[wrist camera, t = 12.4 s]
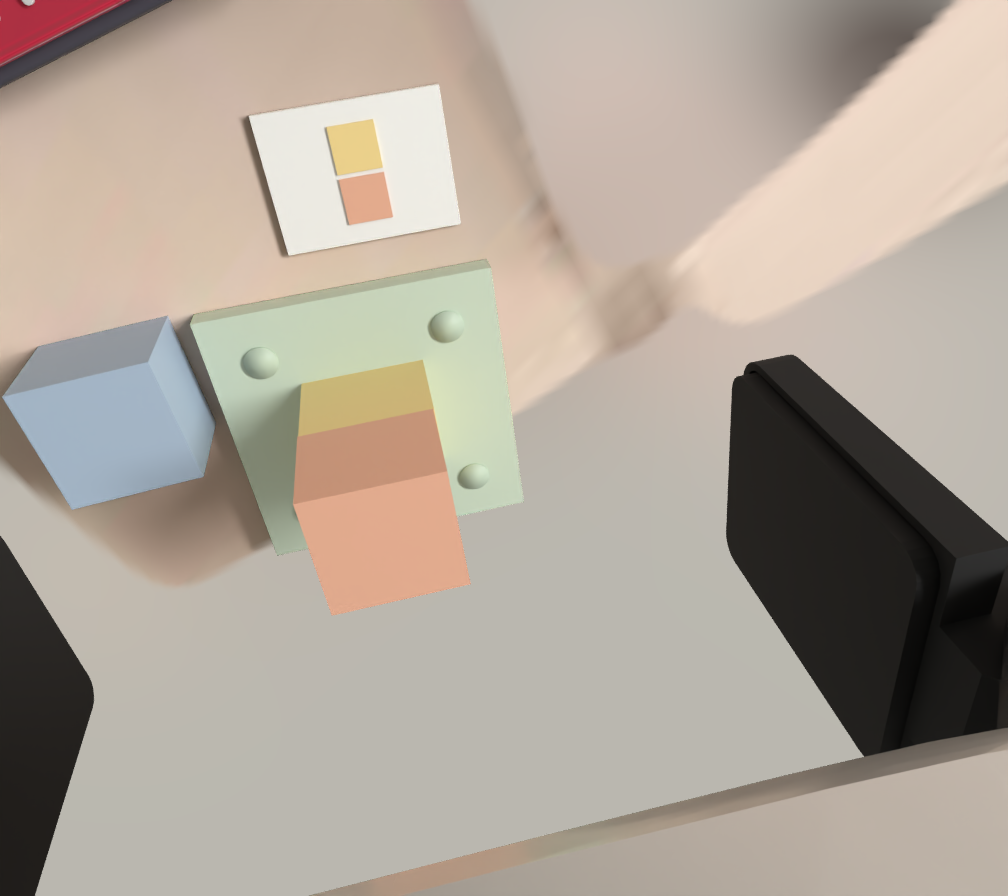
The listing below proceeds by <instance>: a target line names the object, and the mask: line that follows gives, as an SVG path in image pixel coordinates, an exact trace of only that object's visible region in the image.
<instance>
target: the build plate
mask: <svg viewBox="0 0 1008 896" xmlns="http://www.w3.org/2000/svg"><path fill="white" fill-rule="evenodd" d="M190 326H191V329H192V331H193V334H194V337H195V339H196V342H197V345H198V347H199V350H200V353H201V355H202V358H203V361H204V363H205V366H206V368H207V371H208V374H209V376H210V379H211V382H212V384H213V387H214V390H215V392H216V395H217V398H218V400H219V403H220V406H221V408H222V411H223V413H224V416H225V419H226V421H227V424H228V427H229V429H230V432H231V435H232V437H233V440H234V443H235V445H236V448H237V451H238V453H239V456H240V458H241V461H242V464H243V466H244V469H245V472H246V474H247V477H248V480H249V482H250V485H251V488H252V490H253V493H254V495H255V498H256V501H257V503H258V506H259V509H260V511H261V514H262V517H263V519H264V522H265V525H266V527H267V530H268V533H269V535H270V538H271V540H272V543H273V546H274V548H275V551H276V554H277V555H282V554H287V553H291V552H296V551H301V550H305V549H308V546H307V543H306V540H305V537H304V534H303V531H302V529H301V526H300V523H299V520H298V517H297V514H296V511H295V509H294V506H293V497H294V481H295V465H296V449H297V437H298V432H299V415H300V398H301V384H303V383H308V382H313V381H318V380H323V379H328V378H333V377H338V376H343V375H348V374H353V373H358V372H363V371H368V370H373V369H378V368H383V367H388V366H393V365H398V364H403V363H408V362H413V361H418V360H423V363H424V367H425V372H426V376H427V380H428V385H429V389H430V393H431V398H432V402H433V406H434V411H435V416H436V421H437V426H438V431H439V436H440V441H441V445H442V450H443V455H444V459H445V463H446V468H447V472H448V477H449V482H450V487H451V492H452V496H453V501H454V506H455V511H456V516H462V515H466V514H471V513H475V512H480V511H484V510H489V509H494V508H499V507H503V506H508V505H512V504H517V503H522V502H524V499H523V492H522V485H521V479H520V471H519V464H518V456H517V449H516V442H515V435H514V428H513V421H512V414H511V407H510V399H509V392H508V385H507V378H506V371H505V364H504V357H503V350H502V342H501V335H500V328H499V321H498V314H497V307H496V300H495V293H494V286H493V278H492V271H491V267H490V265H489V263H488V261H487V259H484V260H479V261H474V262H468V263H463V264H458V265H452V266H447V267H442V268H437V269H431V270H426V271H421V272H415V273H410V274H405V275H400V276H394V277H389V278H384V279H378V280H373V281H368V282H363V283H357V284H352V285H347V286H341V287H336V288H331V289H325V290H320V291H315V292H310V293H304V294H299V295H294V296H288V297H283V298H278V299H273V300H267V301H262V302H257V303H251V304H246V305H241V306H236V307H230V308H225V309H220V310H214V311H209V312H204V313H198V314H194V315H193V318H192V320H191V323H190Z"/></svg>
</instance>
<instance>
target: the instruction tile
mask: <svg viewBox="0 0 1008 896" xmlns="http://www.w3.org/2000/svg"><path fill="white" fill-rule="evenodd" d="M249 119H250V123H251V126H252V130H253V133H254V137H255V140H256V144H257V147H258V151H259V154H260V158H261V161H262V165H263V168H264V172H265V175H266V179H267V182H268V186H269V189H270V193H271V196H272V200H273V203H274V207H275V210H276V214H277V217H278V220H279V224H280V227H281V231H282V234H283V238H284V241H285V245H286V248H287V252H288V255H289V256H290V255H295V254H300V253H306V252H311V251H317V250H322V249H327V248H333V247H338V246H344V245H349V244H355V243H360V242H365V241H371V240H376V239H382V238H387V237H393V236H398V235H403V234H409V233H414V232H420V231H425V230H430V229H436V228H441V227H447V226H452V225H458V224H461V222H460V215H459V209H458V203H457V196H456V190H455V184H454V177H453V171H452V165H451V158H450V152H449V146H448V139H447V133H446V127H445V120H444V114H443V108H442V101H441V95H440V89H439V84H438V83H437V84H431V85H425V86H419V87H413V88H407V89H401V90H395V91H389V92H383V93H378V94H372V95H366V96H360V97H354V98H348V99H342V100H336V101H330V102H324V103H318V104H312V105H306V106H300V107H294V108H288V109H282V110H276V111H271V112H265V113H259V114H253V115H249Z"/></svg>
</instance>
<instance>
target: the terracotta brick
mask: <svg viewBox="0 0 1008 896" xmlns="http://www.w3.org/2000/svg"><path fill="white" fill-rule="evenodd" d="M293 506H294V509H295V511H296V514H297V517H298V520H299V523H300V526H301V529H302V531H303V534H304V537H305V540H306V543H307V546H308V549H309V551H310V554H311V557H312V560H313V563H314V566H315V568H316V571H317V574H318V577H319V580H320V583H321V586H322V588H323V591H324V594H325V597H326V600H327V603H328V606H329V608H330V611H331V614H332V615H337V614H341V613H346V612H349V611H354V610H359V609H363V608H367V607H372V606H376V605H381V604H385V603H389V602H394V601H398V600H403V599H407V598H412V597H416V596H420V595H424V594H429V593H434V592H438V591H442V590H447V589H451V588H455V587H460V586H464V585H468V584H471V583H470V579H469V574H468V569H467V565H466V559H465V555H464V550H463V545H462V541H461V536H460V530H459V525H458V521H457V516H456V511H455V506H454V501H453V496H452V492H451V487H450V482H449V477H448V472H447V468H446V463H445V459H444V455H443V450H442V446H441V441H440V437H439V433H438V428H437V424H436V419H435V415H434V411H433V409H429V410H424V411H419V412H415V413H410V414H405V415H400V416H395V417H390V418H386V419H381V420H376V421H371V422H366V423H361V424H357V425H352V426H347V427H342V428H337V429H333V430H328V431H323V432H318V433H313V434H308V435H304V436H299V437H297V449H296V465H295V481H294V497H293Z"/></svg>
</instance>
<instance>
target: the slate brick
mask: <svg viewBox="0 0 1008 896" xmlns="http://www.w3.org/2000/svg"><path fill="white" fill-rule="evenodd" d="M2 398H3V399H4V401H5V402H6V404H7V406H8V407H9V409H10V411H11V412H12V414H13V415H14V417H15V419H16V420H17V422H18V423H19V425H20V427H21V428H22V430H23V431H24V433H25V435H26V436H27V438H28V440H29V441H30V443H31V444H32V446H33V448H34V449H35V451H36V452H37V454H38V456H39V457H40V459H41V460H42V462H43V464H44V465H45V467H46V469H47V470H48V472H49V473H50V475H51V477H52V478H53V480H54V481H55V483H56V485H57V486H58V488H59V489H60V491H61V493H62V494H63V496H64V498H65V499H66V501H67V502H68V504H69V506H70V507H71V509H72V510H73V509H77V508H81V507H85V506H89V505H93V504H97V503H101V502H105V501H109V500H113V499H117V498H121V497H125V496H129V495H133V494H137V493H141V492H145V491H149V490H153V489H157V488H161V487H165V486H169V485H173V484H177V483H181V482H185V481H189V480H193V479H197V478H201V477H204V473H205V469H206V465H207V460H208V456H209V452H210V447H211V443H212V439H213V434H214V430H215V426H216V421H215V419H214V417H213V415H212V413H211V410H210V408H209V406H208V404H207V402H206V399H205V397H204V395H203V393H202V390H201V388H200V386H199V384H198V382H197V379H196V377H195V375H194V373H193V371H192V368H191V366H190V364H189V362H188V359H187V357H186V355H185V353H184V351H183V348H182V346H181V344H180V342H179V339H178V337H177V335H176V333H175V331H174V328H173V326H172V324H171V322H170V320H169V317H168V316H164V317H160V318H156V319H152V320H148V321H143V322H139V323H135V324H131V325H127V326H122V327H118V328H114V329H110V330H106V331H101V332H97V333H93V334H89V335H84V336H80V337H76V338H72V339H68V340H63V341H59V342H55V343H51V344H47V345H42V346H38V348H37V349H36V350H35V352H34V353H33V355H32V356H31V357H30V359H29V360H28V362H27V363H26V364H25V366H24V367H23V369H22V370H21V371H20V373H19V374H18V376H17V377H16V378H15V380H14V381H13V382H12V384H11V385H10V387H9V388H8V389H7V391H6V392H5V394H4V395H3V396H2Z"/></svg>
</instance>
